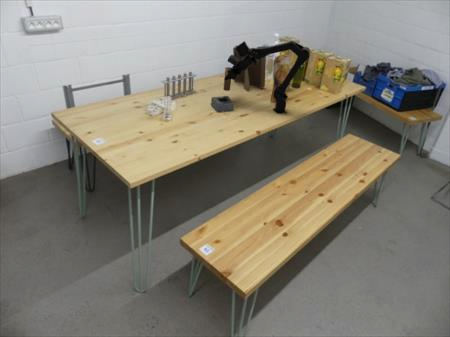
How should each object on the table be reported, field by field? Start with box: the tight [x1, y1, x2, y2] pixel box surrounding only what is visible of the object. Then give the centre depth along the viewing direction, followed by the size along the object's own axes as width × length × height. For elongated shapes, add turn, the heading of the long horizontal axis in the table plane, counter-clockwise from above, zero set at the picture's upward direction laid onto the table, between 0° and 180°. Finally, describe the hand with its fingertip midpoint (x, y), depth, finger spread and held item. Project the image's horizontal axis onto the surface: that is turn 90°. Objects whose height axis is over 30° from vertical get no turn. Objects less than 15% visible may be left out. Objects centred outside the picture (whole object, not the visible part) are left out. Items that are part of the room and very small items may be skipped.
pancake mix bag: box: [270, 52, 291, 104], centre depth 222 cm, size 7×19×28 cm, turn 137°
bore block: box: [210, 95, 235, 113], centre depth 209 cm, size 10×10×5 cm
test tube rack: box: [160, 70, 198, 100], centre depth 218 cm, size 25×4×13 cm, turn 138°
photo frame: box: [232, 44, 267, 92], centre depth 238 cm, size 15×22×25 cm
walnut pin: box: [223, 66, 232, 92], centre depth 214 cm, size 4×4×13 cm
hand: (225, 78), depth 214 cm, fingers closed on walnut pin, 4 cm apart
